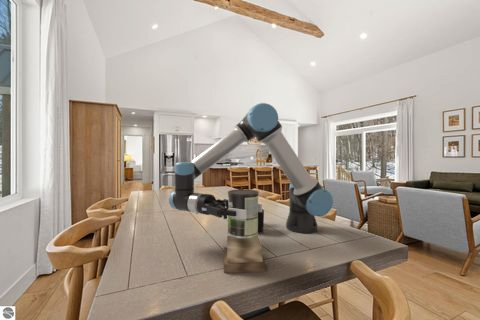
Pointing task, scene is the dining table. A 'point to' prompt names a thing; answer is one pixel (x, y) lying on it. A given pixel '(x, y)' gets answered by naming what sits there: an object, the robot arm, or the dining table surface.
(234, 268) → the plinth
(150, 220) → the dining table surface
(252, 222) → the coffee can
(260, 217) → the pen holder
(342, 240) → the dining table surface
